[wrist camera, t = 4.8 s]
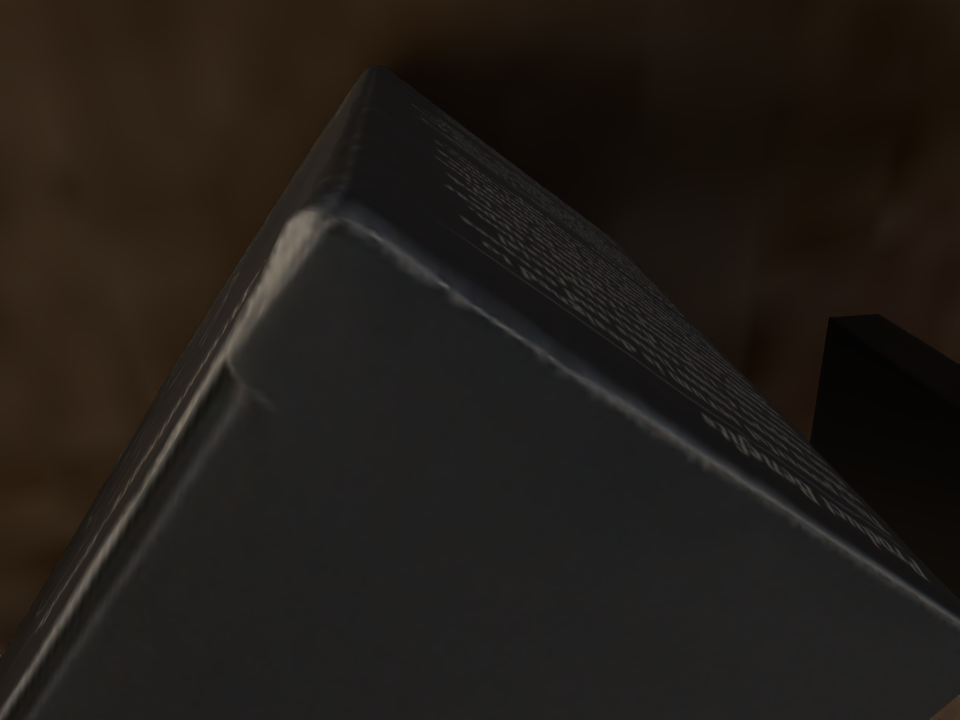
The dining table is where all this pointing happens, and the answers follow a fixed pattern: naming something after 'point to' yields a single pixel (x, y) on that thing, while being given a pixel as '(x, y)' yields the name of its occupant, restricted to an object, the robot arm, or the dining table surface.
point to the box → (468, 487)
